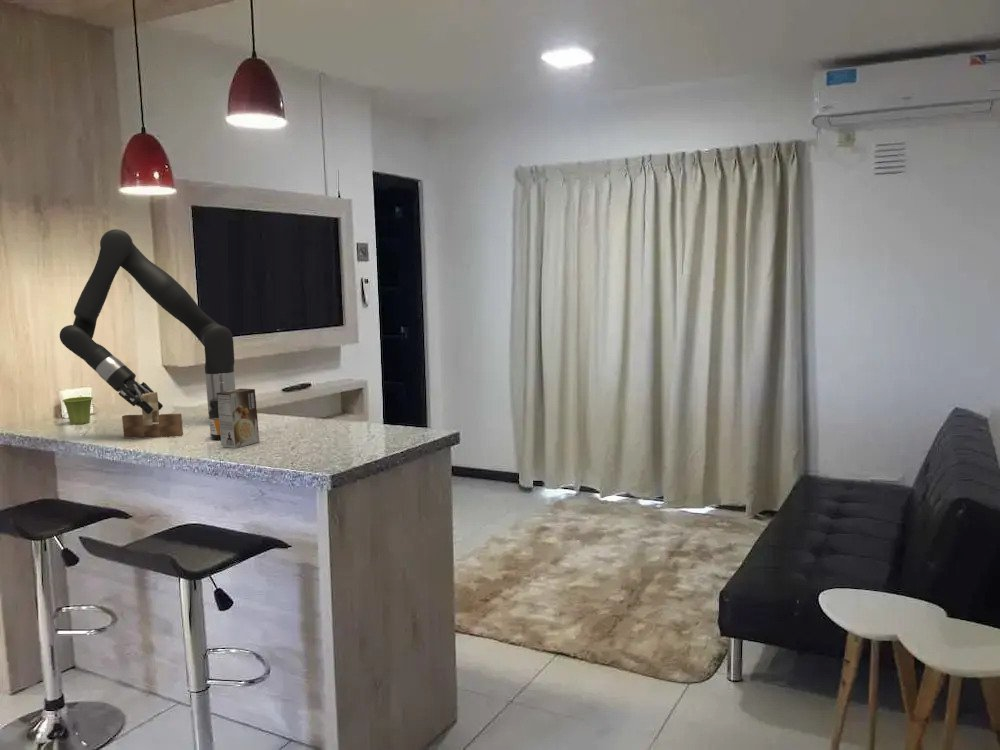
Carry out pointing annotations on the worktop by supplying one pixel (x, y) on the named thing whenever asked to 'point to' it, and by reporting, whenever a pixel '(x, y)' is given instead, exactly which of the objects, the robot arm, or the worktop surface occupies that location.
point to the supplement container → (214, 419)
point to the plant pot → (78, 409)
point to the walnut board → (153, 426)
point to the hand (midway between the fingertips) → (155, 410)
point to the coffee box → (238, 417)
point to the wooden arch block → (153, 402)
